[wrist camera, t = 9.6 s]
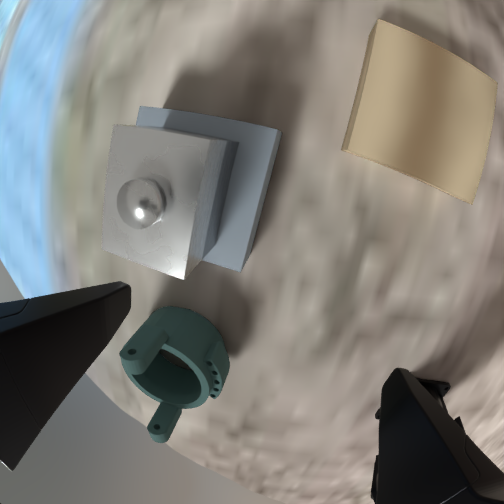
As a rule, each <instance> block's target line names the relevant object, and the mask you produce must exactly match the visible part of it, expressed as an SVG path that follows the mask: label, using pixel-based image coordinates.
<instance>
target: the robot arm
mask: <svg viewBox="0 0 504 504" xmlns="http://www.w3.org/2000/svg"><path fill="white" fill-rule="evenodd" d="M130 308H131V287H130V285H128V284H126V283H123V282H121V281H118V282H113V283H108V284H102V285H97V286H92V287H87V288H81V289H76V290H71V291H66V292H60V293H55V294H50V295H45V296H39V297H34V298H31V299H29V298H28V299H23V300H18V301H11V302H5V303H0V461H1V462H2V463H3V464H4V465H5V466H6V467H8V468H9V469H10V470H11V471H13V470H14V469H15V468H16V466H17V465H18V463H19V461H20V460H21V458H22V457H23V456H24V454H25V453H26V451H27V450H28V448H29V447H30V445H31V444H32V443H33V441H34V440H35V438H36V437H37V436H38V434H39V432H40V431H41V429H42V428H43V427H44V426H45V424H46V423H47V421H48V420H49V419H50V417H51V416H52V415H53V413H54V412H55V411H56V409H57V408H58V407H59V405H60V404H61V403H62V401H63V400H64V399H65V397H66V396H67V395H68V394H69V392H70V391H71V390H72V388H73V387H74V386H75V384H76V383H77V382H78V381H79V379H80V378H81V377H82V376H83V374H84V373H85V372H86V371H87V369H88V368H89V367H90V366H91V364H92V363H93V362H94V361H95V359H96V358H97V357H98V356H99V355H100V353H101V352H102V351H103V350H104V348H105V347H106V346H107V345H108V343H109V342H110V340H111V339H112V337H113V336H114V334H115V333H116V331H117V330H118V328H119V327H120V325H121V324H122V322H123V321H124V319H125V318H126V316H127V315H128V313H129V311H130ZM450 387H451V386H450V384H449V383H445V382H438V381H431V380H424V379H418V378H415V377H414V376H413V375H412V374H411V373H410V372H409V371H408V370H407V369H403V368H396V369H394V370H393V372H392V373H391V375H390V376H389V378H388V379H387V380H386V382H385V383H384V385H383V387H382V393H381V408H380V409H379V410H378V411H377V412H376V414H375V418H376V419H380V420H379V455H376V461H375V465H374V473H373V481H372V488H371V498H372V499H373V500H374V502H375V504H504V473H503V472H502V471H501V470H500V469H499V468H498V467H497V466H496V465H495V464H494V463H493V462H492V461H491V460H490V459H489V458H488V457H487V456H486V455H485V454H484V453H483V452H482V451H481V450H480V449H479V448H478V447H477V446H476V444H475V443H474V442H473V441H472V440H471V439H470V438H469V436H468V435H466V433H465V430H464V427H463V424H462V422H461V419H460V416H459V417H457V418H456V419H455V420H453V419H452V417H451V416H450V415H449V414H448V411H447V408H446V405H445V403H444V400H443V396H444V395H445V394H446V393H447V392H448V390H449V389H450ZM0 504H1V503H0Z"/></svg>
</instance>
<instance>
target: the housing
mask: <svg viewBox="0 0 504 504" xmlns="http://www.w3.org/2000/svg"><path fill="white" fill-rule="evenodd" d="M238 145H239V142H238V141H233V140H229V139H224V138H220V137H215V136H210V135H205V134H200V133H195V132H189V131H184V130H178V129H172V128H166V127H155V126H138V125H114V127H113V132H112V138H111V144H110V151H109V158H108V166H107V174H106V184H105V194H104V207H103V224H102V250H105V251H107V252H110V253H112V254H115V255H117V256H120V257H123V258H125V259H128V260H130V261H133V262H136V263H138V264H141V265H144V266H146V267H149V268H152V269H155V270H157V271H160V272H163V273H166V274H168V275H171V276H174V277H177V278H180V279H182V280H184V279H185V278H186V277H187V276H188V275H189V274H190V273H191V271H192V270H193V269H194V268H195V267H196V266H197V265H198V264H199V263H200V262H201V260H202V259H203V258H204V257H205V256H206V255H207V254H208V253H209V252H210V251H211V250H212V248H213V247H214V246H215V245H216V241H217V236H218V231H219V227H220V222H221V218H222V213H223V209H224V204H225V200H226V195H227V191H228V187H229V182H230V178H231V174H232V170H233V166H234V161H235V157H236V153H237V149H238Z"/></svg>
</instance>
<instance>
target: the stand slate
mask: <svg viewBox="0 0 504 504" xmlns="http://www.w3.org/2000/svg"><path fill="white" fill-rule="evenodd" d="M136 125H138V126H155V127H166V128H172V129H178V130H184V131H189V132H195V133H200V134H205V135H210V136H215V137H220V138H224V139H229V140H233V141H238V142H239V145H238V149H237V153H236V157H235V161H234V166H233V170H232V174H231V178H230V182H229V187H228V191H227V195H226V200H225V204H224V209H223V213H222V218H221V222H220V227H219V231H218V236H217V241H216V245H215V246H214V247H213V248H212V250H211V251H210V252H209V253H208V254H207V255H206V256H205V257H204V258H203V259H202V260H203V261H206V262H210V263H213V264H216V265H219V266H222V267H225V268H228V269H232V270H235V271H238V272H241V271H242V269H243V267H244V265H245V263H246V261H247V260H248V258H249V256H250V253H251V249H252V245H253V242H254V238H255V234H256V230H257V226H258V223H259V219H260V215H261V211H262V207H263V204H264V200H265V196H266V192H267V188H268V185H269V181H270V177H271V173H272V170H273V166H274V162H275V158H276V154H277V151H278V147H279V143H280V139H281V136H282V132H281V131H279V130H277V129H273V128H269V127H265V126H261V125H256V124H252V123H247V122H243V121H238V120H233V119H228V118H223V117H217V116H212V115H206V114H200V113H193V112H187V111H180V110H172V109H164V108H155V107H145V106H140V108H139V113H138V117H137V122H136Z"/></svg>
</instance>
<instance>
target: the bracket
mask: <svg viewBox="0 0 504 504" xmlns="http://www.w3.org/2000/svg"><path fill="white" fill-rule="evenodd" d="M160 349H164V350H166V351H168V352H170V353H172V354H174V355H176V356H177V357H179V358H180V359H181V360H183V361H184V362H185V363H186V364H187V365H188V366H189V367H190V368H191V369H192V370H193V371H192V370H187V369H184V368H181V367H178V366H176V365H174V364H173V363H171V362H170V361H168V360H167V359H166V358H164V357H163V356H162V355H161V354H160V353H159V350H160ZM119 354H120V357H121V361H122V365H123V368H124V370H125V372H126V374H127V375H128V377H129V378H130V380H131V381H132V382H133V383H134V384H135V385H136V386H137V387H138V388H139V389H140V390H141V391H142V392H143V393H145V394H146V395H147V396H149V397H151V398H152V399H154V400H156V401H158V402H160V405H159V407H158V409H157V410H156V412H155V414H154V416H153V417H152V419H151V421H150V423H149V424H148V426H147V429H148V431H149V434H150V436H151V438H152V439H153V440H154V441H155V442H158V443H164V442H167V441H168V439H169V438H170V436H171V434H172V432H173V429H174V427H175V425H176V423H177V421H178V419H179V417H180V415H181V413H182V409H189V408H195V407H198V406H200V405H202V404H203V403H204V402H205V401H206V400H207V398H208V396H211V397H212V398H213V399H216V398H217V397H218V396H219V394H220V393H221V391H222V388H223V385H224V383H225V380H226V377H227V375H228V372H229V368H230V362H229V357H228V354H227V351H226V349H225V345H224V341H223V339H222V337H221V335H220V333H219V332H218V330H217V329H216V328H215V327H214V326H213V324H212V323H211V322H209V321H208V320H207V319H206V318H205V317H203V316H201V315H200V314H198V313H196V312H194V311H192V310H190V309H184V308H179V307H173V306H167V307H162V308H159V309H157V310H156V311H154V312H153V313H152V314H151V316H150V317H149V318H148V319H147V320H146V321H145V322H144V323H143V325H142V326H141V327H140V328H139V329H138V330H137V331H136V333H135V334H134V335H133V336H132V337H131V338H130V339H129V341H128V342H127V343H126V344H125V345H124V347H123V349H122V350H121V351H120V353H119Z"/></svg>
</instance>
